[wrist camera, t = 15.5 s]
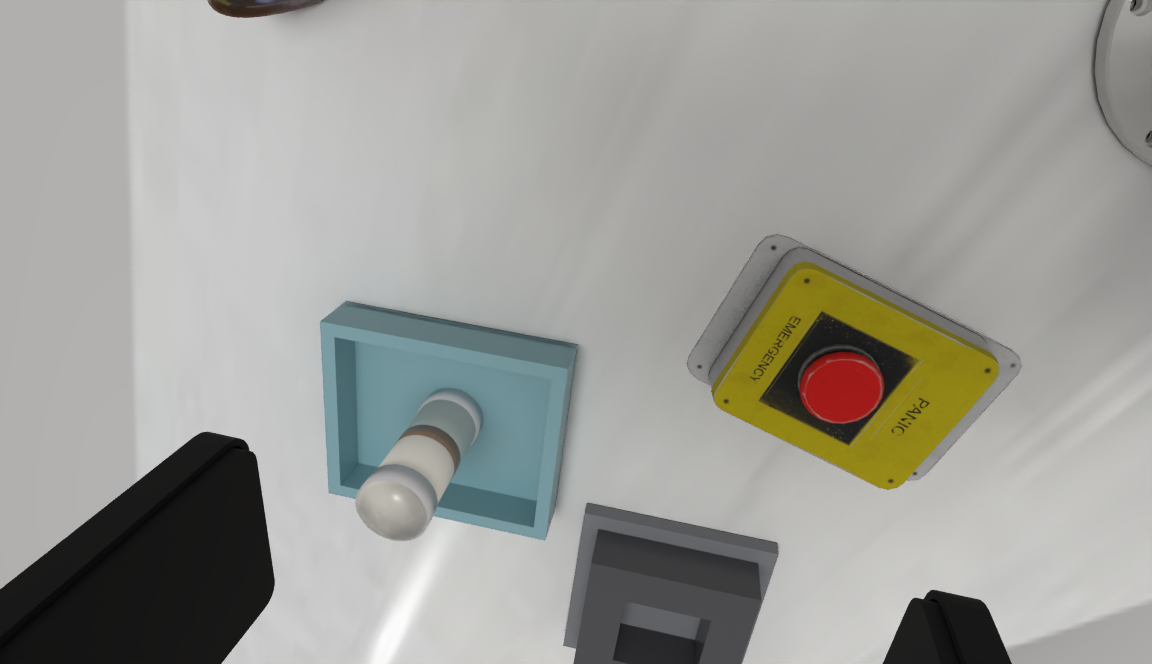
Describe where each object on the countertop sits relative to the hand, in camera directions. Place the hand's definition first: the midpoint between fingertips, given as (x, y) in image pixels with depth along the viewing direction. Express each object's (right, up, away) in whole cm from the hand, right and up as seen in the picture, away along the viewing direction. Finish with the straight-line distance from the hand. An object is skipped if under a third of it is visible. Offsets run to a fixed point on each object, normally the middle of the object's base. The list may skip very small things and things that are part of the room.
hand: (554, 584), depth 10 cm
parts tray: (-7, -1, +32) cm, 33 cm away
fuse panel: (+6, -14, +35) cm, 38 cm away
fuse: (-7, -2, +32) cm, 32 cm away
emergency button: (+15, +2, +27) cm, 31 cm away
